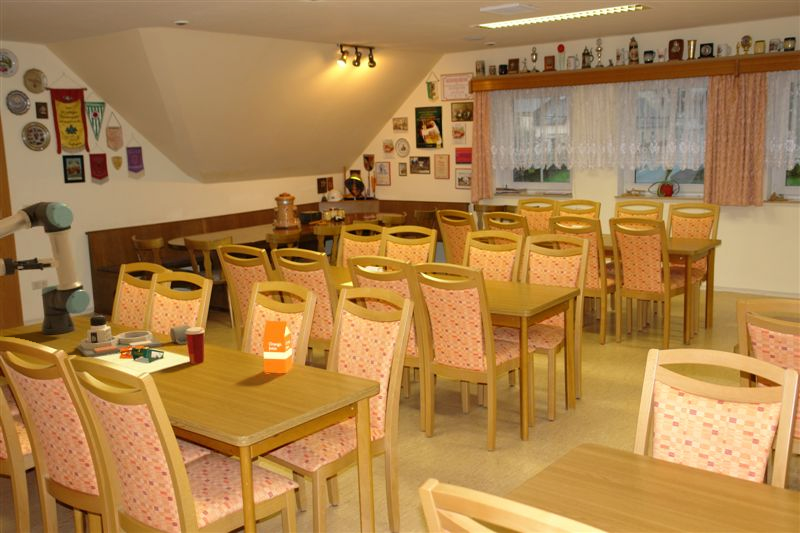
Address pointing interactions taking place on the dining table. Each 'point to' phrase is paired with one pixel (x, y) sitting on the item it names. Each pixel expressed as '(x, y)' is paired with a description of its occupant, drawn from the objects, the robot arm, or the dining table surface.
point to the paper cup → (195, 344)
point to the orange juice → (277, 347)
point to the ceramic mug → (179, 334)
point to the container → (99, 330)
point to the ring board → (93, 354)
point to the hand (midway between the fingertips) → (56, 262)
